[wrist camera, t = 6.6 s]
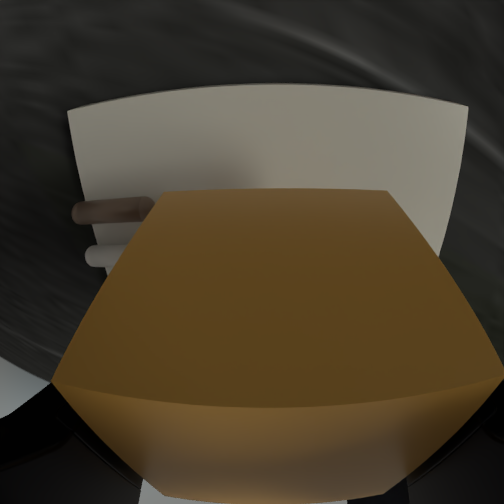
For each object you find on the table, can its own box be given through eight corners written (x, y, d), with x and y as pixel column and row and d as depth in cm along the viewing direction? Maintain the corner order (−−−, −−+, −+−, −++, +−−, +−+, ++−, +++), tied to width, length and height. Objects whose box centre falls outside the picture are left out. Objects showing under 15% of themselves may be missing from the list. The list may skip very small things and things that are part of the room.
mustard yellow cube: (386, 190, 8) (506, 374, 3) (354, 341, 11) (382, 494, 6) (163, 191, 8) (51, 381, 3) (194, 343, 12) (164, 495, 7)
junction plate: (453, 102, 10) (523, 128, 6) (410, 301, 16) (439, 365, 12) (72, 108, 11) (3, 136, 7) (122, 303, 17) (93, 366, 13)
